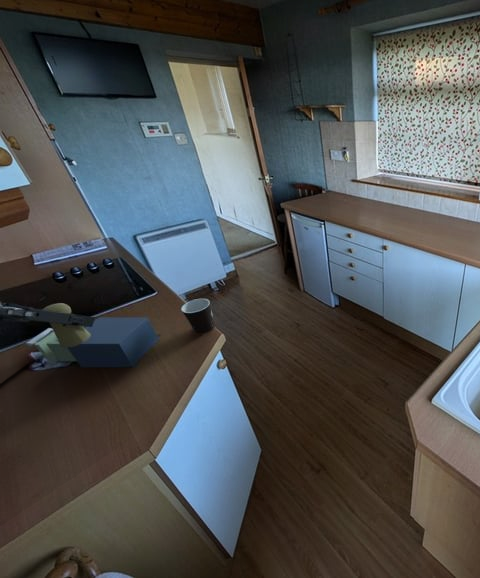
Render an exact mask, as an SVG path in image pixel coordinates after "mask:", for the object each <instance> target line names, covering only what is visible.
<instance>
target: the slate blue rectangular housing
mask: <svg viewBox="0 0 480 578" xmlns="http://www.w3.org/2000/svg"><path fill="white" fill-rule="evenodd" d="M85 329H86V330H87V331H88V332H89V333H90V335H91V336H90V338H89V339H88V340H86V341H85V342H83V343H81V344H79V345H76V346H72V347H67V348H68V350H69V351H70V352H71V354H72V355H73V356H74V358H75V359H76V360H77V361H76V362H77V363H78V365H79V366H80V368H134V367H136V365H137V364H138V363H139V361H141V359H142V358H143V357H144V356H145V355H146V354H147V353H148V352H149V351H150V350H151V349H152V348H153V347H154V346H155V345H156V344H157V343H158V342H159V340H160V339H159V337H158V335H157V333H156V331H155V329H154V327H153V325H152V323H151V321H150V319H149V317H108V316H107V317H103V316H102V317H98V318H97V319H95V320H94V323H93V326H92V327H86V328H85Z"/></svg>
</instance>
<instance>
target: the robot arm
mask: <svg viewBox="0 0 480 578" xmlns="http://www.w3.org/2000/svg"><path fill="white" fill-rule="evenodd" d="M43 309H44V308H34V307H32V306H24V305H19V304H17V303H10V302H0V322H9V323H11V322H21V323H29V322H30V321H31V322H35V323H40V322H41V323H45V324H50V322H53V323H63V327H67V326H68V325H77V326H87V327H92V326H93V323H94V321H95V320H96V317H94V316H88V315H82V314H81V315H80V314H74V313H72V312H71V313H70V314H68V313H59V312H52V311H44V310H43Z"/></svg>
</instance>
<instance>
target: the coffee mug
mask: <svg viewBox="0 0 480 578" xmlns="http://www.w3.org/2000/svg"><path fill="white" fill-rule="evenodd" d="M181 312H182V314H183V315H184V317H185V318H186V320H187V321H188V323H189V325H190V326H191V328H192V329H193V331H194V333H196V334H199V335H203V334H207V333H208V332H209V333H210V332H211V331H213V329H214V328H215V321H214V316H213V310H212V306H211V301H210V300H209V299H207V298H196V299H192V300H189V301H188V302H186V303H184V304H183V305H182V306H181ZM212 325H213V326H212Z"/></svg>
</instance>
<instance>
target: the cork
mask: <svg viewBox="0 0 480 578" xmlns="http://www.w3.org/2000/svg"><path fill="white" fill-rule="evenodd" d="M42 309H43V310H44V311H52V312H59V313H68V314H70V313H71V314H72V309H71V307H70V306H69V305H68V304H66V303H62V302H58V303H52V304H50V305H47V306H46V307H44V308H42ZM49 325H50V326H51V329H53V331H54V333H55V335H56V337H57V339H58V341H59V343H60V345H61V346H62V347H72V346H76V345H79V344H81V343H83V342H85V341H86V340H88V339H89V338H90V336H91V335H90V333H89V332H88V331H87V330H86V329H85V328H84V327H83V326H77V325H68V326H67V327H63V323H53V322H50V323H49Z"/></svg>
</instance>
